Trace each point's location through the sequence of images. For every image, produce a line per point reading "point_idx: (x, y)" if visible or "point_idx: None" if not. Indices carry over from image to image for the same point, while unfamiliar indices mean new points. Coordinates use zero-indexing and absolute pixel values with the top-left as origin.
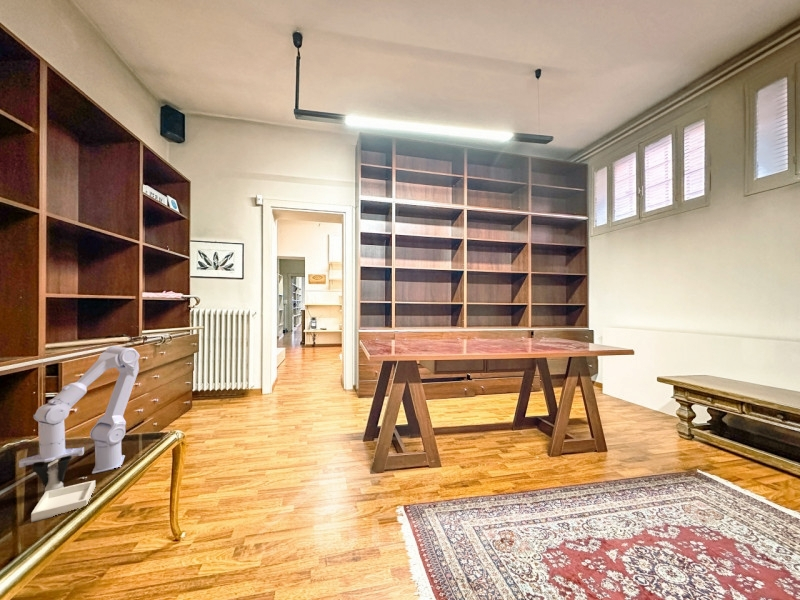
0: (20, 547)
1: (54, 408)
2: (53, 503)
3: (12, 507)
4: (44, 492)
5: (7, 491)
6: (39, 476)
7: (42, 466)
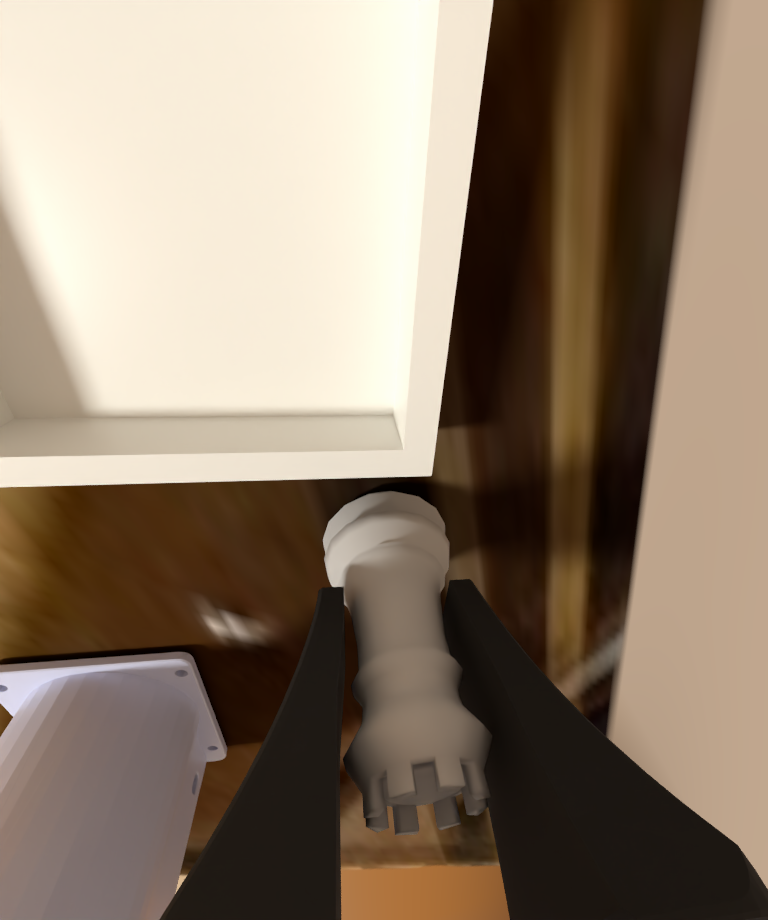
0: None
1: None
2: (313, 250)
3: (621, 425)
4: (443, 529)
5: (621, 628)
6: (551, 683)
7: None
